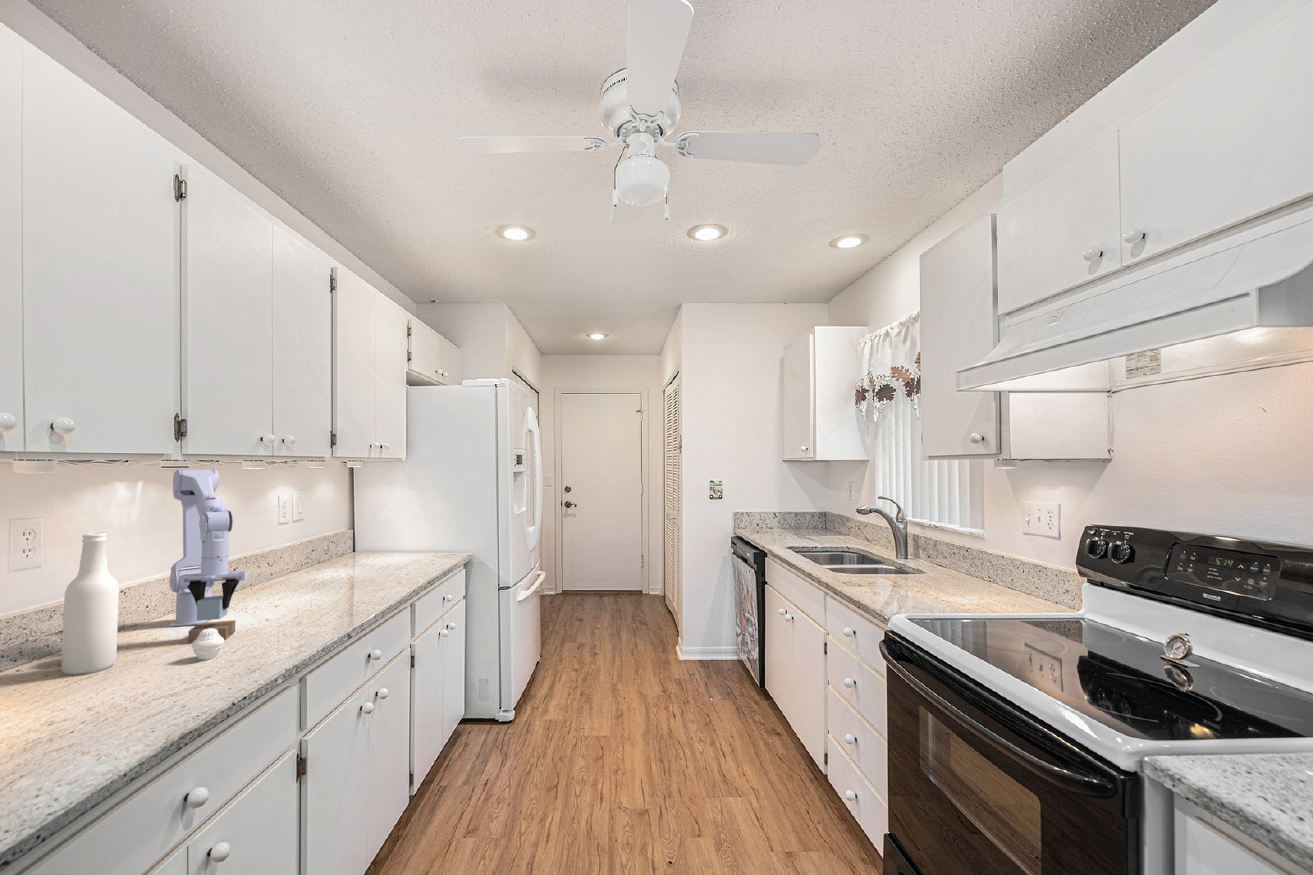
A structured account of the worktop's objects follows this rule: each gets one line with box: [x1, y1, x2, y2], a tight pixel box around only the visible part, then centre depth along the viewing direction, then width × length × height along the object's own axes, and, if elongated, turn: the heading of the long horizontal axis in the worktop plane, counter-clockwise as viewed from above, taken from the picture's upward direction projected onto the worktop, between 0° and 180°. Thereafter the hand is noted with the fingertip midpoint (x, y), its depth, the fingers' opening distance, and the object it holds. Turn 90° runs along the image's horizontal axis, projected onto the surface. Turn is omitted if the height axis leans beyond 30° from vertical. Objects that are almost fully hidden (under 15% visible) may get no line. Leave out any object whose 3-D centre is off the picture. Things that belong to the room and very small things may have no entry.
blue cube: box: [197, 595, 228, 621], centre depth 154 cm, size 5×5×5 cm
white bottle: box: [60, 532, 120, 676], centre depth 131 cm, size 9×9×30 cm
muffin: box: [191, 628, 225, 661], centre depth 138 cm, size 6×6×7 cm
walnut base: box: [187, 619, 236, 645], centre depth 155 cm, size 8×8×4 cm
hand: (213, 609), depth 155 cm, fingers closed on blue cube, 5 cm apart
